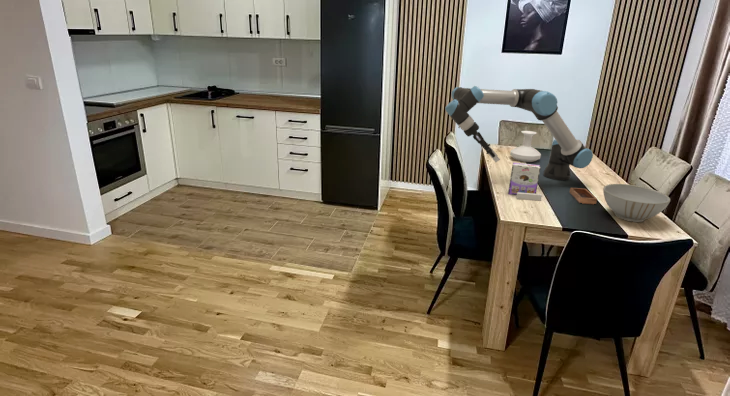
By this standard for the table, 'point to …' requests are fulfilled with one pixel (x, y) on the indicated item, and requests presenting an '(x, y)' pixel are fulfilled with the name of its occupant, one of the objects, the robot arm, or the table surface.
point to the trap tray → (583, 196)
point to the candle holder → (526, 149)
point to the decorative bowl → (634, 201)
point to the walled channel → (529, 196)
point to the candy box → (524, 178)
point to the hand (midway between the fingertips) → (496, 158)
